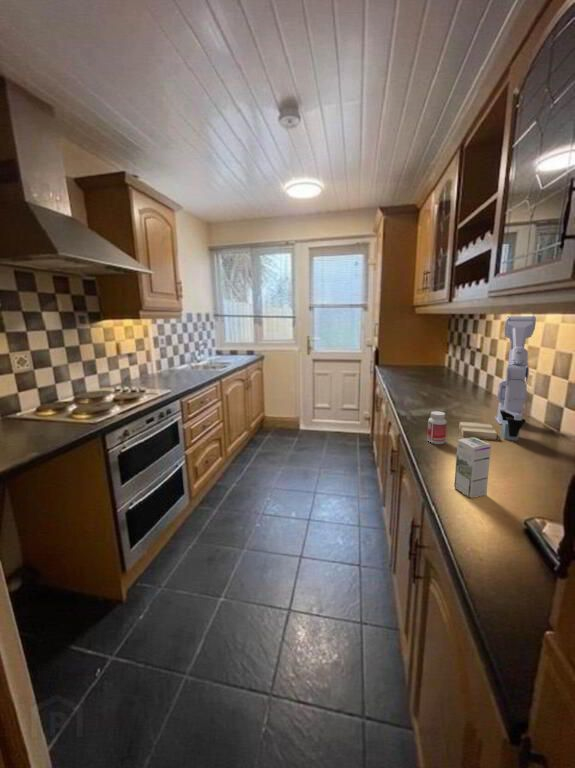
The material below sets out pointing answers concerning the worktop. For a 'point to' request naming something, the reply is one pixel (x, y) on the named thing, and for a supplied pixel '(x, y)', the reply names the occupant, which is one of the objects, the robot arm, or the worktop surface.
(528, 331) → the robot arm
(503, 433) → the blue block
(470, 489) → the syrup box
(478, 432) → the birch base
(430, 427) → the pill bottle
